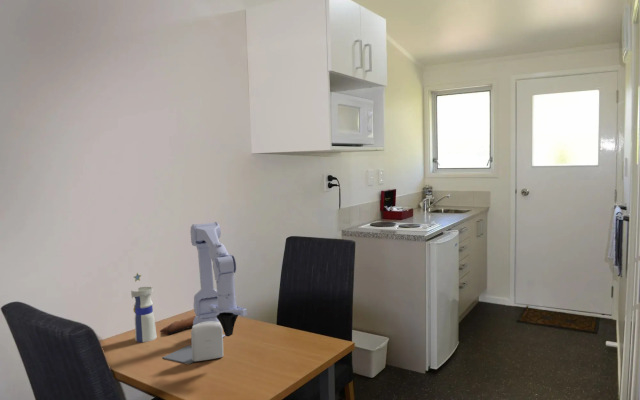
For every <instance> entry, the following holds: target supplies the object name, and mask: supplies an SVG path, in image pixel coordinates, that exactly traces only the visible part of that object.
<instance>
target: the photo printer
mask: <svg viewBox="0 0 640 400" xmlns="http://www.w3.org/2000/svg"><path fill="white" fill-rule="evenodd" d="M223 335H224V330H223V327H222V325H221V323H220V321H219V322H215V321H208V322H202V323H198V324H196V325H194V326H192V327H191V332H190V338H191V339H190V340H191V346H192V360H193V361H195V362H201V361H202V362H203V361H208V360H214V359H221V358H223V357H224V337H223Z"/></svg>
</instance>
